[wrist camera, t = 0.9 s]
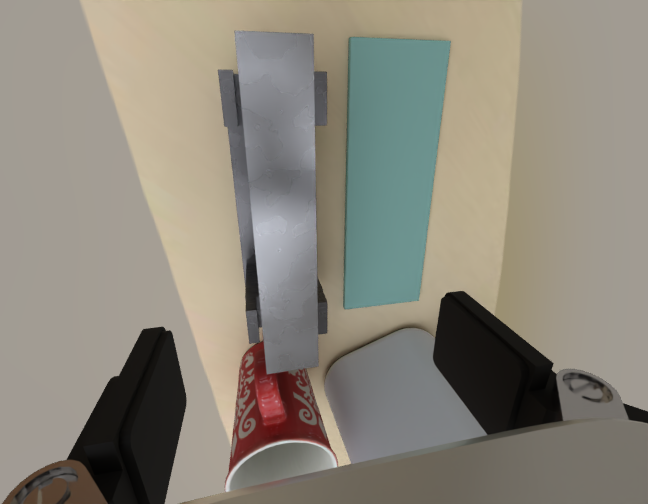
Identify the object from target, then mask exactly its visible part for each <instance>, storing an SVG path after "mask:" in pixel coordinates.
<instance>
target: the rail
mask: <svg viewBox="0 0 648 504" xmlns="http://www.w3.org/2000/svg"><path fill="white" fill-rule="evenodd" d="M234 32H235V42H236V53H237V64H238V74H239V85H240V95H241V106H242V117H243V127H244V138H245V148H246V159H247V170H248V180H249V191H250V202H251V212H252V223H253V233H254V244H255V255H256V265H257V276H258V287H259V297H260V308H261V318H262V329H263V340H264V350H265V361H266V372H267V374H272V373H278V372H285V371H292V370H298V369H305V368H311V367H318V366H319V364H318V299H317V233H316V168H315V102H314V37H313V34H302V33H279V32H255V31H234Z"/></svg>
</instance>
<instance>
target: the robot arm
mask: <svg viewBox="0 0 648 504" xmlns="http://www.w3.org/2000/svg"><path fill="white" fill-rule="evenodd" d="M433 361H434V364H435V366H436V367H437V368H438V370H439V371H440V372H441V374H442V375H443V376H444V378H445V379H446V380H447V382H448V383H449V384H450V386H451V387H452V388H453V390H454V391H455V392H456V394H457V395H458V396H459V398H460V399H461V400H462V402H463V403H464V404H465V406H466V407H467V408H468V410H469V411H470V412H471V414H472V415H473V416H474V418H475V419H476V420H477V422H478V423H479V424H480V426H481V427H482V428H483V430H484V431H485V432H486V434H487V435H485V436H480V437H476V438H471V439H466V440H461V441H456V442H452V443H447V444H442V445H437V446H433V447H428V448H423V449H419V450H414V451H409V452H405V453H400V454H395V455H391V456H386V457H381V458H377V459H372V460H368V461H363V462H358V463H354V464H349V465H345V466H340V467H335V468H331V469H326V470H322V471H317V472H313V473H308V474H304V475H299V476H295V477H290V478H286V479H281V480H277V481H272V482H268V483H263V484H259V485H254V486H250V487H245V488H241V489H237V490H233V491H229V492H225V493H220V494H216V495H212V496H208V497H204V498H200V499H195V500H191V501H187V502H183V503H179V504H648V412H647V411H645V410H641V409H639V408H636V407H633V406H629V405H627V404H623V403H622V400H621V398H620V396H619V394H618V392H617V391H616V390H615V389H614V388H613V387H612V386H611V385H610V384H609V383H607V382H606V381H604V380H603V379H601V378H599V377H597V376H595V375H593V374H591V373H588V372H585V371H582V370H577V369H563V370H561V371H559V372H558V373H557V374H556V373H554V372H553V371H552V367H553V363H552V362H551V361H550V360H549V359H547V358H546V357H545V356H544V355H542V354H541V353H540V352H539V351H537V350H536V349H535V348H534V347H532V346H531V345H530V344H529V343H527V342H526V341H525V340H524V339H522V338H521V337H520V336H519V335H518V334H516V333H515V332H514V331H512V330H511V329H510V328H509V327H508V326H506V325H505V324H504V323H503V322H501V321H500V320H499V319H497V318H496V317H495V316H494V315H493V314H491V313H490V312H489V311H488V310H486V309H485V308H484V307H483V306H482V305H480V304H479V303H478V302H477V301H475V300H474V299H473V298H472V297H470V296H469V295H468V294H467V293H465V292H464V291H457V292H449V293H446V295H445V297H443V298H442V299H441V304H440V311H439V317H438V324H437V331H436V338H435V344H434V351H433ZM185 409H186V393H185V388H184V384H183V379H182V375H181V371H180V366H179V361H178V357H177V352H176V348H175V343H174V339H173V335H172V332H171V331H166V330H165V328H164V327H157V328H149V329H143V330H142V332H141V334H140V336H139V338H138V340H137V342H136V344H135V345H134V347H133V349H132V352H131V353H130V355H129V357H128V359H127V361H126V363H125V365H124V367H123V369H122V371H121V373H120V375H119V376H115V377H113V378H111V379H110V381H109V382H108V384H107V386H106V387H105V389H104V391H103V393H102V395H101V397H100V399H99V401H98V402H97V404H96V406H95V408H94V410H93V412H92V413H91V415H90V417H89V419H88V421H87V423H86V425H85V426H84V429H83V430H82V432H81V434H80V436H79V438H78V439H77V441H76V443H75V445H74V447H73V449H72V451H71V453H70V454H69V456H68V458H67V460H64V461H58V462H55V463H52V464H50V465H47V466H45V467H43V468H41V469H39V470H37V471H36V472H34V473H33V474H31V475H30V476H28V477H27V478H26V479H24V480H23V481H22V482H20V483H19V485H17V486H16V488H14V489H13V490H12V491H11V492H10V493H9V495H8V496H7V498H6V499H5V500H4V502H3V503H2V504H164V503H165V499H166V494H167V490H168V485H169V480H170V476H171V472H172V467H173V463H174V458H175V454H176V449H177V444H178V440H179V436H180V431H181V427H182V422H183V417H184V413H185Z"/></svg>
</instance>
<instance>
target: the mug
mask: <svg viewBox="0 0 648 504" xmlns="http://www.w3.org/2000/svg"><path fill="white" fill-rule="evenodd" d="M335 467H338V461H337V458H336V455H335V453H334V452H333V450H332V449H331V447H330V444H329V440H328V437H327V434H326V431H325V427H324V424H323V421H322V418H321V415H320V412H319V408H318V406H317V403H316V400H315V396H314V393H313V389H312V386H311V383H310V380H309V377H308V374H307V371H306V368H305V369H298V370H292V371H285V372H278V373H272V374H267V372H266V361H265V350H264V341H263V342H261V343H258V344H256V345H254V346H253V347H252V348H250V349H249V350H248V351H247V352H246V353H245V355H244V356H243V358H242V361H241V365H240V370H239V382H238V392H237V400H236V410H235V420H234V428H233V437H232V447H231V457H230V465H229V473H228V475H227V477H226V481H225V492H229V491H233V490H237V489H241V488H245V487H250V486H254V485H259V484H263V483H268V482H272V481H277V480H281V479H286V478H290V477H295V476H299V475H304V474H308V473H313V472H317V471H322V470H326V469H331V468H335Z"/></svg>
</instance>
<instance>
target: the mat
mask: <svg viewBox="0 0 648 504" xmlns="http://www.w3.org/2000/svg"><path fill="white" fill-rule="evenodd" d="M450 43H451V41H436V40H412V39H388V38H364V37H350V38H349V55H348V104H347V153H346V203H345V252H344V301H343V307H344V309H353V308H361V307H369V306H378V305H386V304H394V303H402V302H411V301H419V295H420V287H421V279H422V270H423V262H424V254H425V246H426V238H427V230H428V222H429V214H430V205H431V197H432V189H433V181H434V173H435V165H436V157H437V149H438V140H439V132H440V124H441V116H442V108H443V100H444V92H445V84H446V76H447V67H448V59H449V51H450Z"/></svg>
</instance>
